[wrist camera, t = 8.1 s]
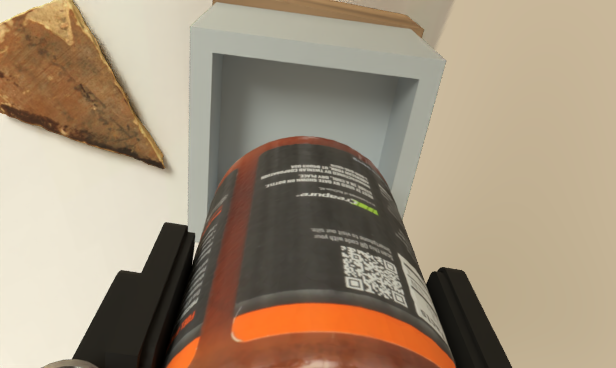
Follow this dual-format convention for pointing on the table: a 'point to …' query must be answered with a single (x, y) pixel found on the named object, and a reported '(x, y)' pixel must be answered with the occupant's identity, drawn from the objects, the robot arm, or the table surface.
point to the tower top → (304, 93)
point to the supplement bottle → (305, 269)
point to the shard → (67, 83)
